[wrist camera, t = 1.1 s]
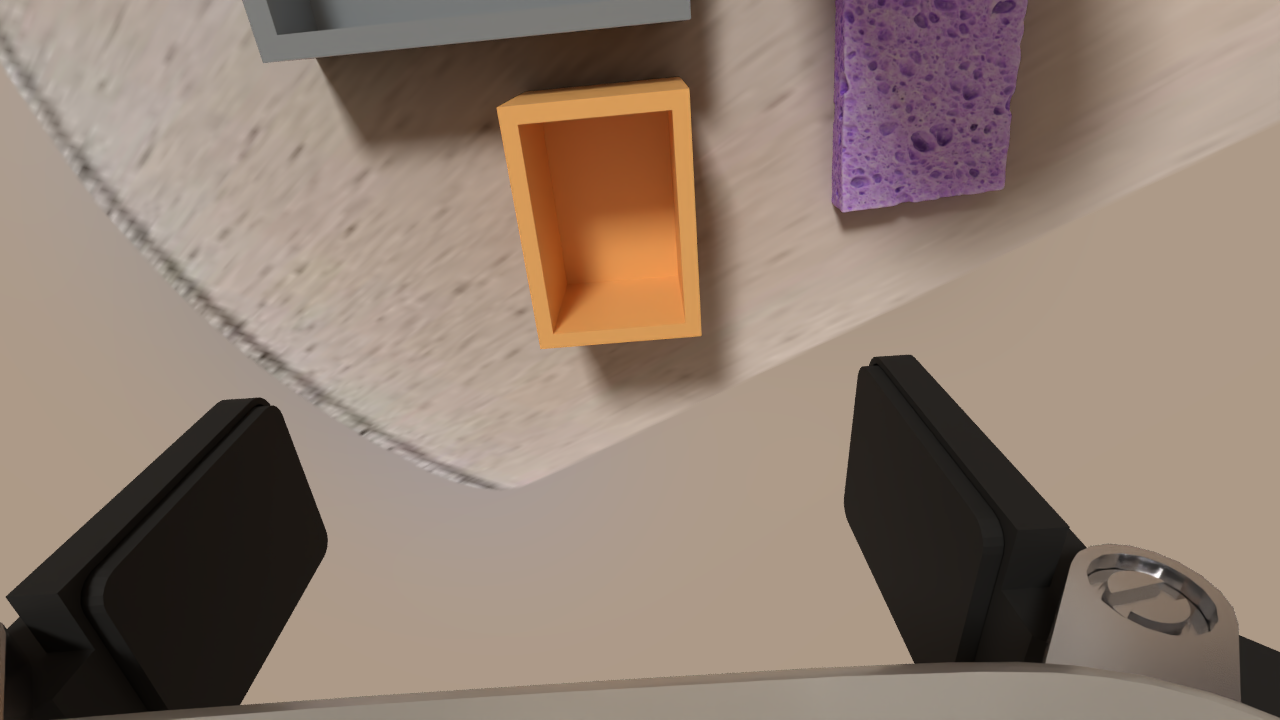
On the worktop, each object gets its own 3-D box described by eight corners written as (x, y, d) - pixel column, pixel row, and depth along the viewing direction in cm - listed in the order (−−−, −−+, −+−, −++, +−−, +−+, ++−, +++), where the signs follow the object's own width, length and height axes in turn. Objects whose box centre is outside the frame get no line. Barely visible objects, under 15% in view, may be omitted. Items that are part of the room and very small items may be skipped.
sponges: (828, 203, 29) (840, 214, 27) (830, -137, 23) (845, -151, 21) (985, 183, 28) (1007, 192, 27) (1027, -169, 23) (1057, -185, 21)
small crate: (679, 76, 26) (689, 88, 21) (690, 282, 30) (701, 336, 25) (525, 91, 26) (496, 107, 21) (558, 293, 30) (540, 348, 25)
